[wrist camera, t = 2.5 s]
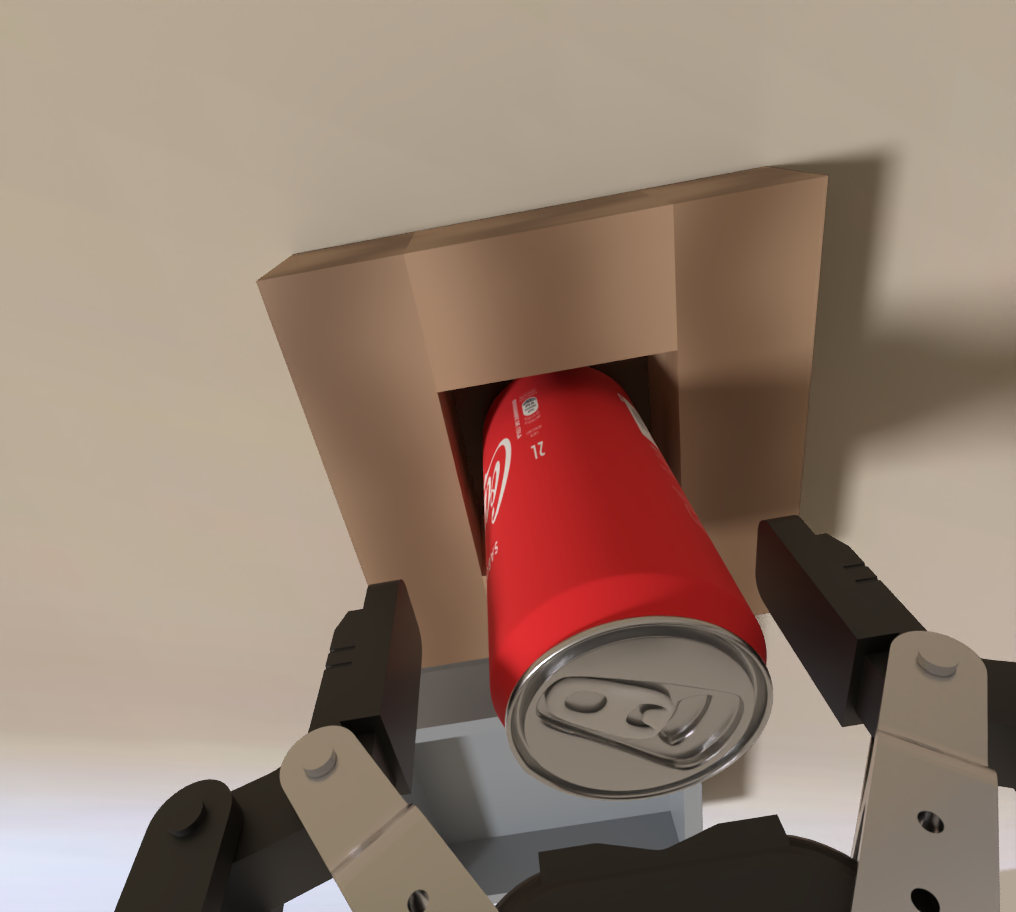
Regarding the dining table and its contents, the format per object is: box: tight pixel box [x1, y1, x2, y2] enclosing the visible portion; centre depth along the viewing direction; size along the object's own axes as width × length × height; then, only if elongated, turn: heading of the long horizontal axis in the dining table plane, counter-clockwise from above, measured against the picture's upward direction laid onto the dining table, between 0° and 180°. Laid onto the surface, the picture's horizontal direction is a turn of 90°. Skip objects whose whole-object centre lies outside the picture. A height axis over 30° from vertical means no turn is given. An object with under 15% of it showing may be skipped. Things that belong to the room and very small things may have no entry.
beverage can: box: [482, 366, 773, 801], centre depth 16 cm, size 5×5×12 cm
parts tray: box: [401, 658, 703, 903], centre depth 28 cm, size 14×14×4 cm
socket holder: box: [256, 167, 828, 668], centre depth 19 cm, size 14×14×4 cm
